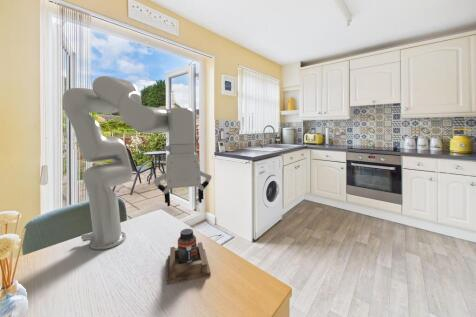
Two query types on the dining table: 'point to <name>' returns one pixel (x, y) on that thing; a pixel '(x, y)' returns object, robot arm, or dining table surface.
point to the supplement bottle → (187, 247)
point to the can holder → (187, 266)
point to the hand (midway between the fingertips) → (184, 203)
